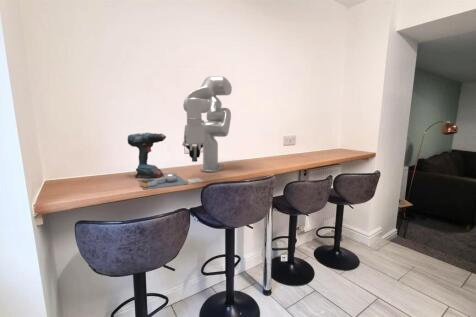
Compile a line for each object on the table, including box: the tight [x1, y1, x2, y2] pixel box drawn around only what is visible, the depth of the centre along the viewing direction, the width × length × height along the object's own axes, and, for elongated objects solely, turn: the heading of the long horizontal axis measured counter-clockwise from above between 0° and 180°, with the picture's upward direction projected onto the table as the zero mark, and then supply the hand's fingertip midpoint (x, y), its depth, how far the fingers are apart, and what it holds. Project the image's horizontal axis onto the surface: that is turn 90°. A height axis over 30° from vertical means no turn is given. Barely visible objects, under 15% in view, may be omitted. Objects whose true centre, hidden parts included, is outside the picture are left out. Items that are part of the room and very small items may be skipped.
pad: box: [186, 177, 204, 184], centre depth 129 cm, size 7×7×1 cm
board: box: [137, 175, 190, 191], centre depth 126 cm, size 22×19×1 cm
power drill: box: [127, 132, 167, 179], centre depth 135 cm, size 9×23×25 cm, turn 79°
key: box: [191, 145, 198, 162], centre depth 126 cm, size 3×3×8 cm
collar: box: [138, 172, 178, 187], centre depth 123 cm, size 19×7×4 cm, turn 136°
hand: (194, 157), depth 126 cm, fingers closed on key, 2 cm apart
